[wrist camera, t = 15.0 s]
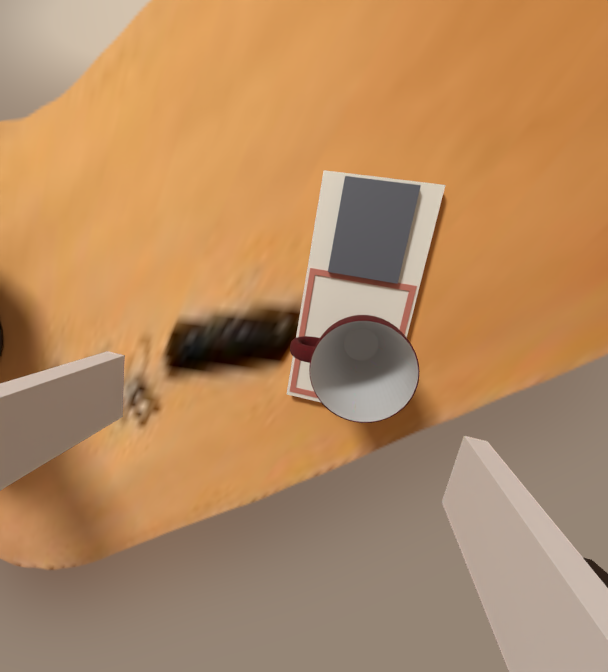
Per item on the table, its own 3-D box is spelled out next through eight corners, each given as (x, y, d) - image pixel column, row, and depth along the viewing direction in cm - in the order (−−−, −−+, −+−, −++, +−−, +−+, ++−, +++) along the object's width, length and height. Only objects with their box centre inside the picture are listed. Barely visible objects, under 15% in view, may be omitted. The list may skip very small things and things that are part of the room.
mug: (302, 377, 33) (279, 418, 23) (300, 306, 31) (274, 318, 22) (398, 380, 31) (417, 427, 21) (401, 305, 29) (423, 318, 20)
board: (289, 390, 35) (284, 397, 33) (325, 174, 29) (322, 167, 28) (385, 412, 33) (387, 421, 31) (441, 189, 28) (448, 182, 26)
